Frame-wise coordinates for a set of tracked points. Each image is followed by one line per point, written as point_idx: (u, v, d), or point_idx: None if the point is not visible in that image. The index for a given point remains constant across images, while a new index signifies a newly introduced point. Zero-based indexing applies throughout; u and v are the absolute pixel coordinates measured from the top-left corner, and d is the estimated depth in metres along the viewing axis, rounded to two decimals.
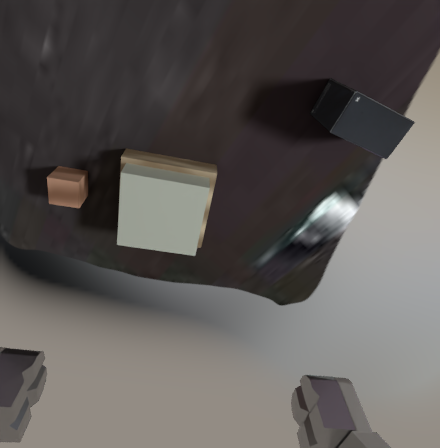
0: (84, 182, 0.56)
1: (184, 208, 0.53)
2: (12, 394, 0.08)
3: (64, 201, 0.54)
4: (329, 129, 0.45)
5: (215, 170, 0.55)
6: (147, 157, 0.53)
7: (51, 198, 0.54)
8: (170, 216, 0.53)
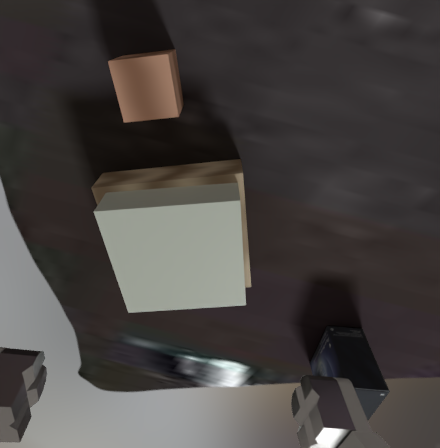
0: None
1: (205, 286, 0.35)
2: (12, 394, 0.08)
3: (126, 93, 0.27)
4: None
5: None
6: None
7: (122, 65, 0.26)
8: (185, 273, 0.34)
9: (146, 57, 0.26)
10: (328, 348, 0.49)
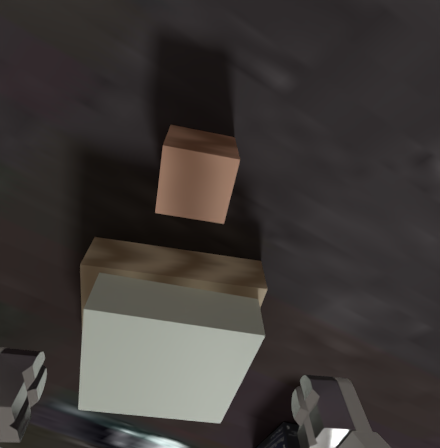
0: None
1: (184, 401, 0.30)
2: (12, 394, 0.08)
3: (172, 184, 0.21)
4: None
5: None
6: None
7: (179, 155, 0.20)
8: (167, 386, 0.29)
9: (212, 155, 0.20)
10: None
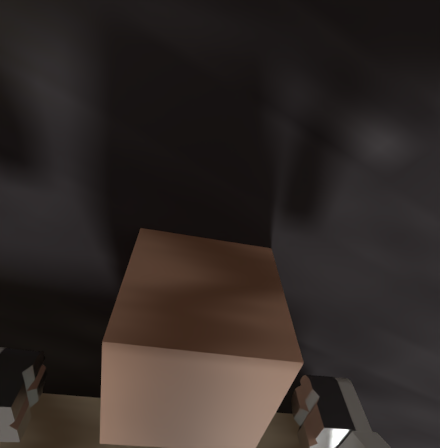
0: None
1: None
2: (12, 394, 0.08)
3: (134, 404, 0.09)
4: None
5: None
6: None
7: (148, 358, 0.08)
8: None
9: (234, 354, 0.08)
10: None
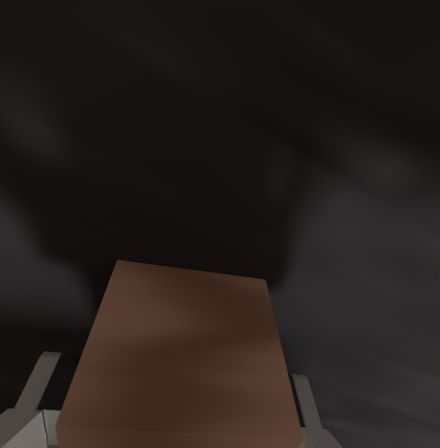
0: None
1: None
2: None
3: None
4: None
5: None
6: None
7: (114, 441, 0.06)
8: None
9: (219, 433, 0.07)
10: None
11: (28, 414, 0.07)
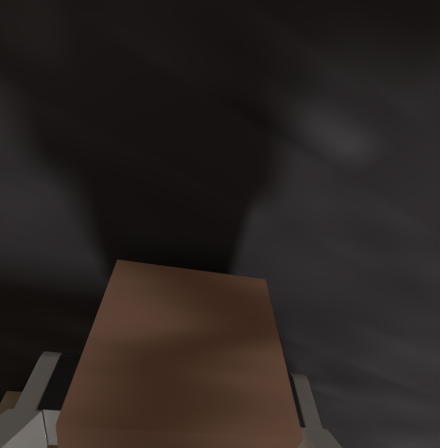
0: None
1: None
2: None
3: None
4: None
5: None
6: None
7: (115, 440, 0.06)
8: None
9: (219, 432, 0.07)
10: None
11: (28, 414, 0.07)
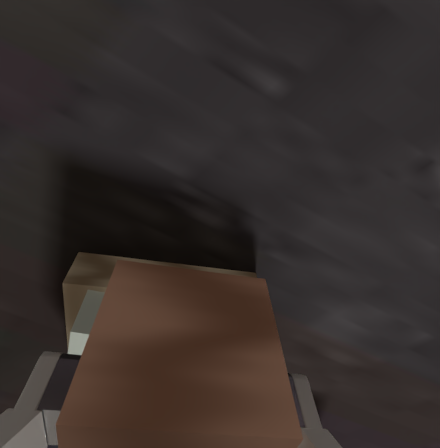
0: None
1: None
2: None
3: None
4: None
5: None
6: None
7: (115, 439, 0.06)
8: None
9: (219, 432, 0.07)
10: None
11: (28, 414, 0.07)
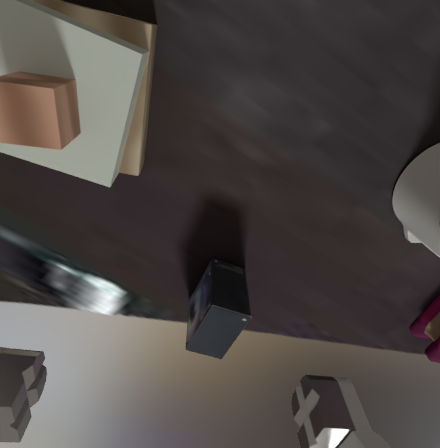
0: None
1: (73, 145, 0.32)
2: (12, 394, 0.08)
3: (5, 115, 0.26)
4: (213, 302, 0.43)
5: (140, 170, 0.40)
6: (150, 68, 0.34)
7: (2, 88, 0.25)
8: None
9: (29, 86, 0.25)
10: (207, 276, 0.49)
11: None
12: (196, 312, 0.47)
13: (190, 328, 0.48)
